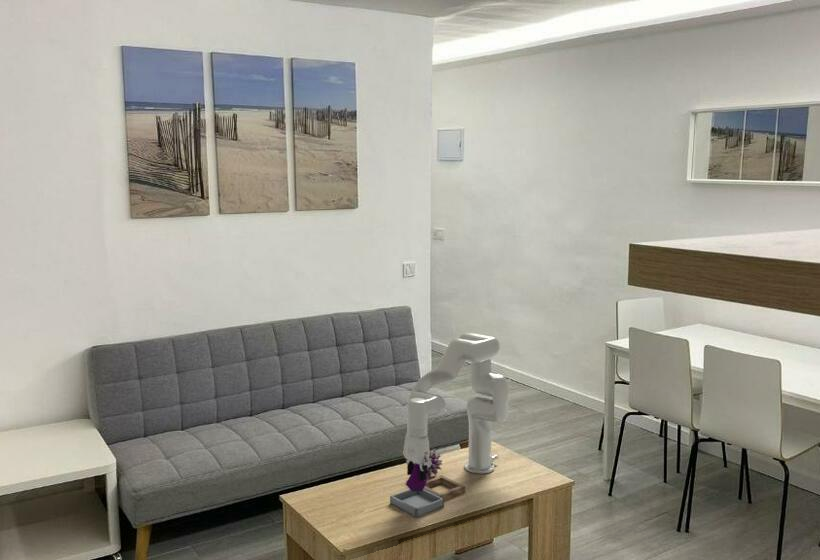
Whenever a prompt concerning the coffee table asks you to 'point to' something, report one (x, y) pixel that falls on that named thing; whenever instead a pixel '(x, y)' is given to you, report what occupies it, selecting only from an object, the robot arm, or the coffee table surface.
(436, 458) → the flower
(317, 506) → the coffee table surface
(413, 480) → the perfume bottle
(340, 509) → the coffee table surface
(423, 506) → the tray
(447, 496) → the square wooden frame
